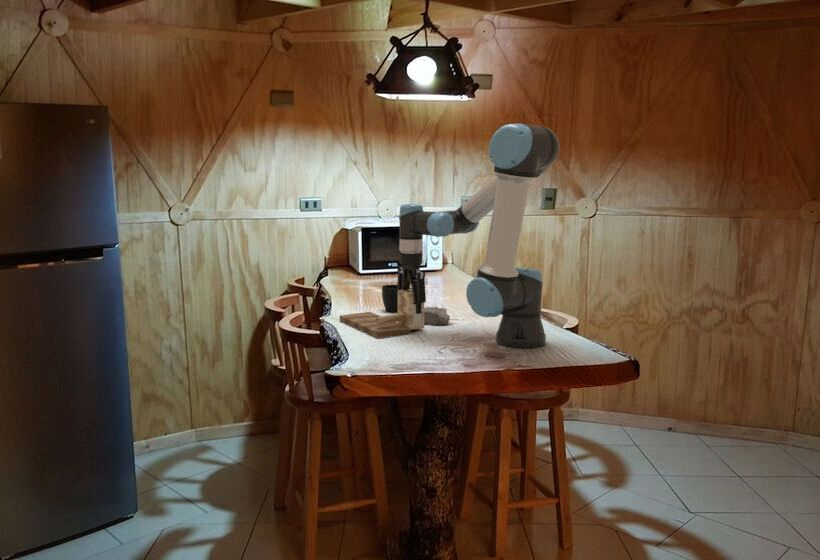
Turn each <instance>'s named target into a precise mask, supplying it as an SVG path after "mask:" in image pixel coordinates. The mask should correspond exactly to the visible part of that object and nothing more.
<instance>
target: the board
mask: <svg viewBox="0 0 820 560" xmlns="http://www.w3.org/2000/svg"><path fill="white" fill-rule="evenodd" d="M380 316H381V315H379V314H377V313H374V312H372V311H365V312H358V313H350V314H342V315H339V322H340V323H342V324H345V323H346V324H345V325H347V324H348V325H347V326H349V325H350V327H351V326H352V328H353V327H354V329H356V328H357V330H358V331H360V330H361V331H360V332H362V331H363V332H362V333H364V332H365V334H366V333H367V334H366V335H369V336H371V337H373V338H375V339H378V338H379V339H385V337H386V338H391V336H392V337H397V336H398V335H399V336H405V334H406V335H410V334H411V330H410V328H409V327H407V326H404V325H402V324H399V323H398V322H392V323H385V324H377V323H376V317H380Z"/></svg>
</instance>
